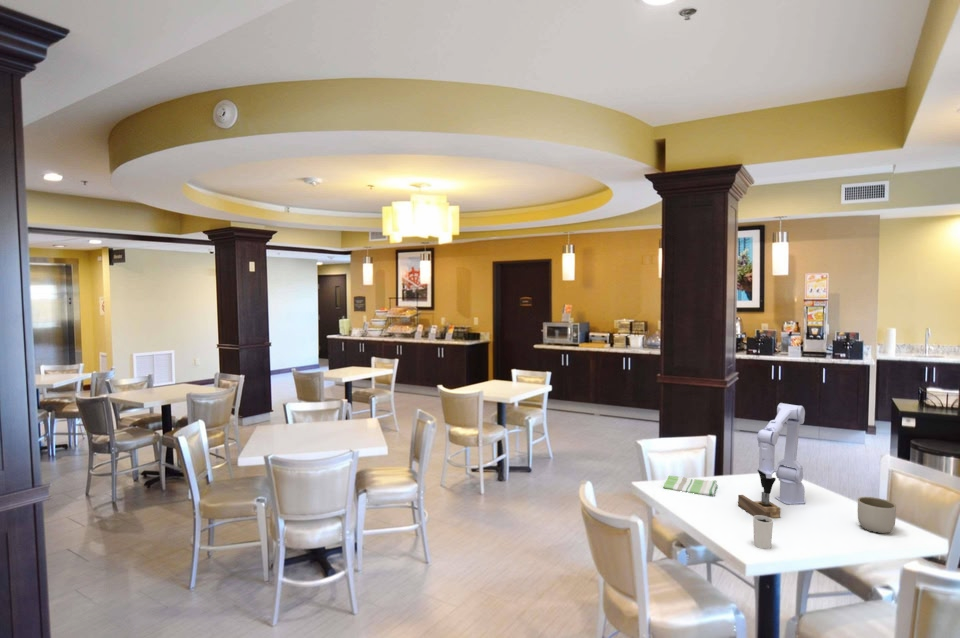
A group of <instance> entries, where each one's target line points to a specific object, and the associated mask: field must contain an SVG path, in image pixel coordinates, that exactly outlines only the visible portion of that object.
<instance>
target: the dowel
mask: <svg viewBox="0 0 960 638" xmlns="http://www.w3.org/2000/svg"><path fill="white" fill-rule="evenodd" d="M770 494H771V493H770ZM770 494H768V493H764V491H762V492H761V499H760V500H761V505H762V506H763V507H769V501H770V497H771V496H770Z"/></svg>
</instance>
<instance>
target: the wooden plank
mask: <svg viewBox="0 0 960 638" xmlns="http://www.w3.org/2000/svg"><path fill="white" fill-rule="evenodd" d="M737 496H738V497H737V498H738V499H737V507H739V508H740V509H741V510H743V511H745V512H746V513H747V514H749V515H750V516H752V517H753V516H756V515H762V516H767V517H770V512H769V511H768V510H766V509H765V508H763V507H761V506H760V505H758V504H757V503H755V502H753V501H754V500H752V499H750V498H748V497H747V496H746V495H744V494H738V495H737Z"/></svg>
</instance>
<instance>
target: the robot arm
mask: <svg viewBox="0 0 960 638" xmlns="http://www.w3.org/2000/svg"><path fill="white" fill-rule="evenodd" d="M776 407H777V408H776V415H775V418H774V419H771V420H769V422H768V424H766V426H765V427H764V428H763V429H759V431H758V433H757V435H756V439H757V443H758V444H757V445H758V448H759V453H758V455H759V457H758V458H759V459H758V469H757V472H758V475H759V478H760V483H761V484H760V485H761V488H762V489H763V492H764V493H768V494H771V492H772V488H773V486H774V484H775V482H776V480H777V479H778V481H779V496H774V498H775V499H776V500H778V501H780V502H781V503H783V504H785V505H797V504H798V505H800V504H801V505H802V504H806V502H805V491H806V490H805V486H804V484H803V483H802V481H803V479H804V470H803V469H804V468H803V465H802V464H801V463H799V461H797V458H798V457H797V456H798V455H797V454H798V445H799V436H800V435H799V434H800V426H801V425H803V424H804V422H805V416H806V410H805V407H804V406H803V405H796V404H789V403H783V402H780V403H779V404H778V405H777V406H776ZM785 423H786V425H787V426H786V434H785V444H784V445H785V446H784V454H783V455H784V456H783V459H781V460H780V461H777V466H776V468H775V449H776V445H777V444H778V440H779V435H780V434H781V432H783V430H784V426H783V425H784V424H785ZM774 473H775V477H773V474H774ZM776 478H777V479H776Z"/></svg>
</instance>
